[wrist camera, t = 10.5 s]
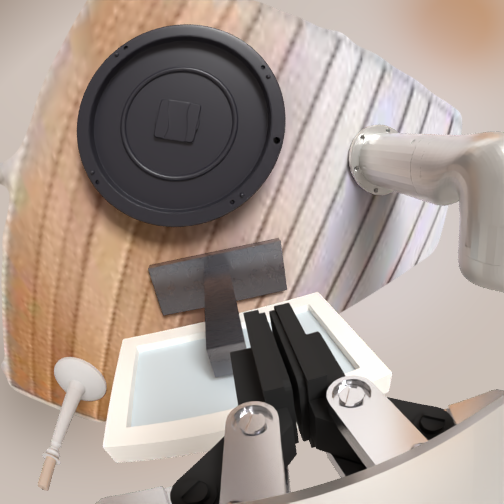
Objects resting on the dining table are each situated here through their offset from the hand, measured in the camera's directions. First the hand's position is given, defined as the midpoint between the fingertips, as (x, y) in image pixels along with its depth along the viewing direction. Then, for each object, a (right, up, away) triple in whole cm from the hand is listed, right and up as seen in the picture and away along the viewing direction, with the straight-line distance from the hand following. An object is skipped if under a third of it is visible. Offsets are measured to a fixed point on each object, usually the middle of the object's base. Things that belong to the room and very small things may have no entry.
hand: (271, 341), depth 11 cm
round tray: (-12, +23, +33) cm, 41 cm away
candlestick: (-39, -25, +45) cm, 64 cm away
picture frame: (-5, -8, +33) cm, 34 cm away
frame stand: (-6, -1, +41) cm, 42 cm away
